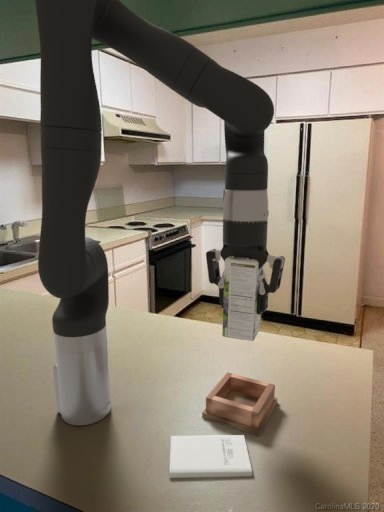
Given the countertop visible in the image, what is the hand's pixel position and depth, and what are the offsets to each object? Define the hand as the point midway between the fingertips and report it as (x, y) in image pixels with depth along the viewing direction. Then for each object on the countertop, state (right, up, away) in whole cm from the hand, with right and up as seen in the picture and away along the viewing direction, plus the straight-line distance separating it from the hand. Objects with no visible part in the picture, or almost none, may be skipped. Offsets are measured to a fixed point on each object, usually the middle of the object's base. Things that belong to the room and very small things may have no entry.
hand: (242, 309), depth 69 cm
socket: (0, -20, +5) cm, 20 cm away
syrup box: (0, -5, +1) cm, 5 cm away
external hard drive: (-6, -23, -7) cm, 25 cm away
